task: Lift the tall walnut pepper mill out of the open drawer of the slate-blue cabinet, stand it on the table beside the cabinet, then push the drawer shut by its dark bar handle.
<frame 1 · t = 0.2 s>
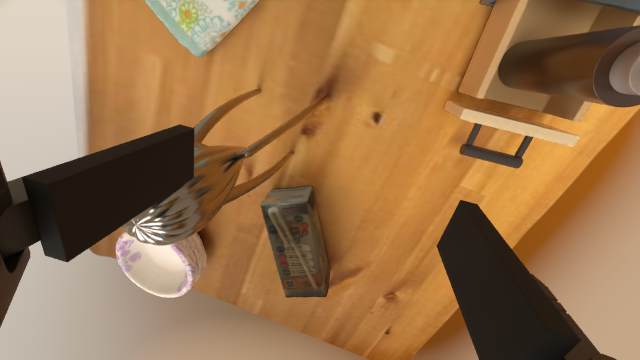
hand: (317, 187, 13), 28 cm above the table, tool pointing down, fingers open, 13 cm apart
pepper mill: (522, 65, 31), point 2 cm above the table, touching drawer
tripod lemon squeezer: (284, 108, 40), on the table, touching gripper
beverage carton: (303, 232, 49), on the table
paper bowls: (181, 239, 55), on the table
drawer: (526, 77, 30), point 4 cm above the table, slide at 11.0 cm, touching pepper mill
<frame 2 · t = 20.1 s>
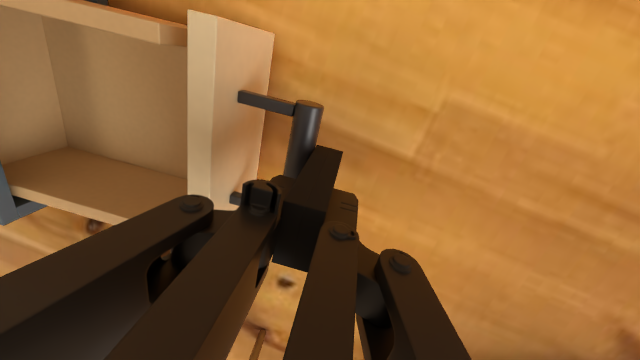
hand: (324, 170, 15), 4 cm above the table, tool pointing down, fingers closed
cabinet: (19, 64, 21), on the table
drawer: (152, 122, 16), point 4 cm above the table, slide at 10.6 cm, touching gripper
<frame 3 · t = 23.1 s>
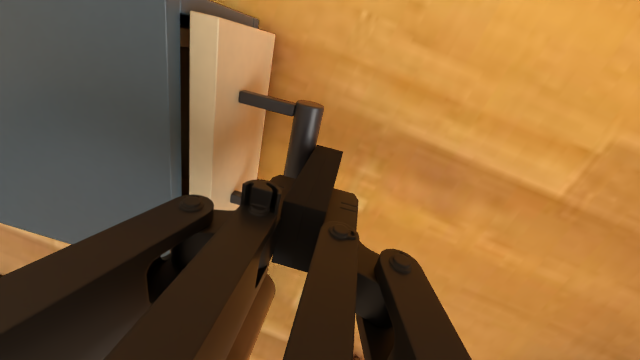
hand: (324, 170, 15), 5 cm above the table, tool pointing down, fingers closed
cabinet: (144, 96, 20), on the table
pepper mill: (249, 285, 26), on the table
drawer: (154, 122, 16), point 4 cm above the table, slide at 0.3 cm, touching gripper
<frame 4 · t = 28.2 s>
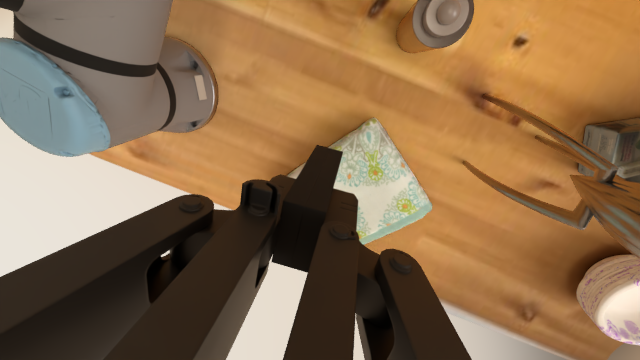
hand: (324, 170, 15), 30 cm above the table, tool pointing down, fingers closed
towel: (352, 188, 49), on the table
pepper mill: (415, 32, 37), on the table
tripod lemon squeezer: (486, 140, 42), on the table
paper bowls: (614, 275, 47), on the table
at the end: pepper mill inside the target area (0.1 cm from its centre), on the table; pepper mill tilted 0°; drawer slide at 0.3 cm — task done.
